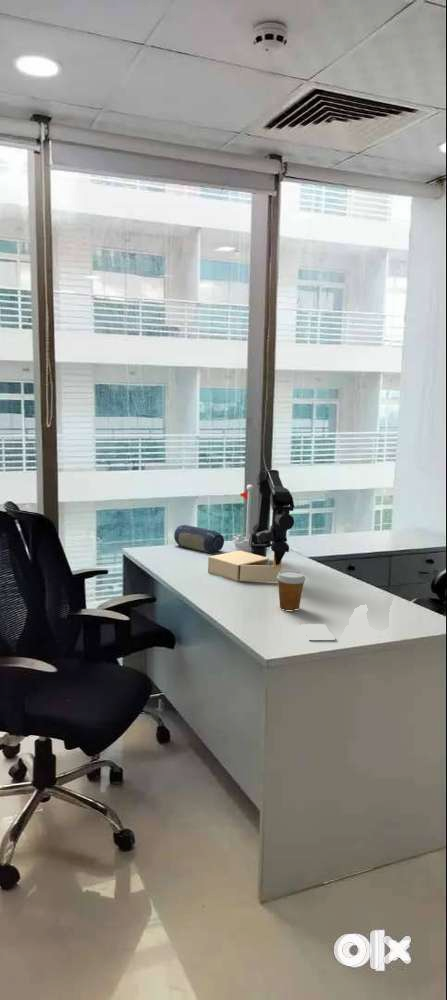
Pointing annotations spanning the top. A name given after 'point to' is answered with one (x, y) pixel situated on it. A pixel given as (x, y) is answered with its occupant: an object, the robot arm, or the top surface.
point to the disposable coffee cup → (290, 589)
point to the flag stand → (240, 541)
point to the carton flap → (260, 572)
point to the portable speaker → (199, 538)
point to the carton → (233, 563)
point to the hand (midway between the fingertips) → (277, 564)
